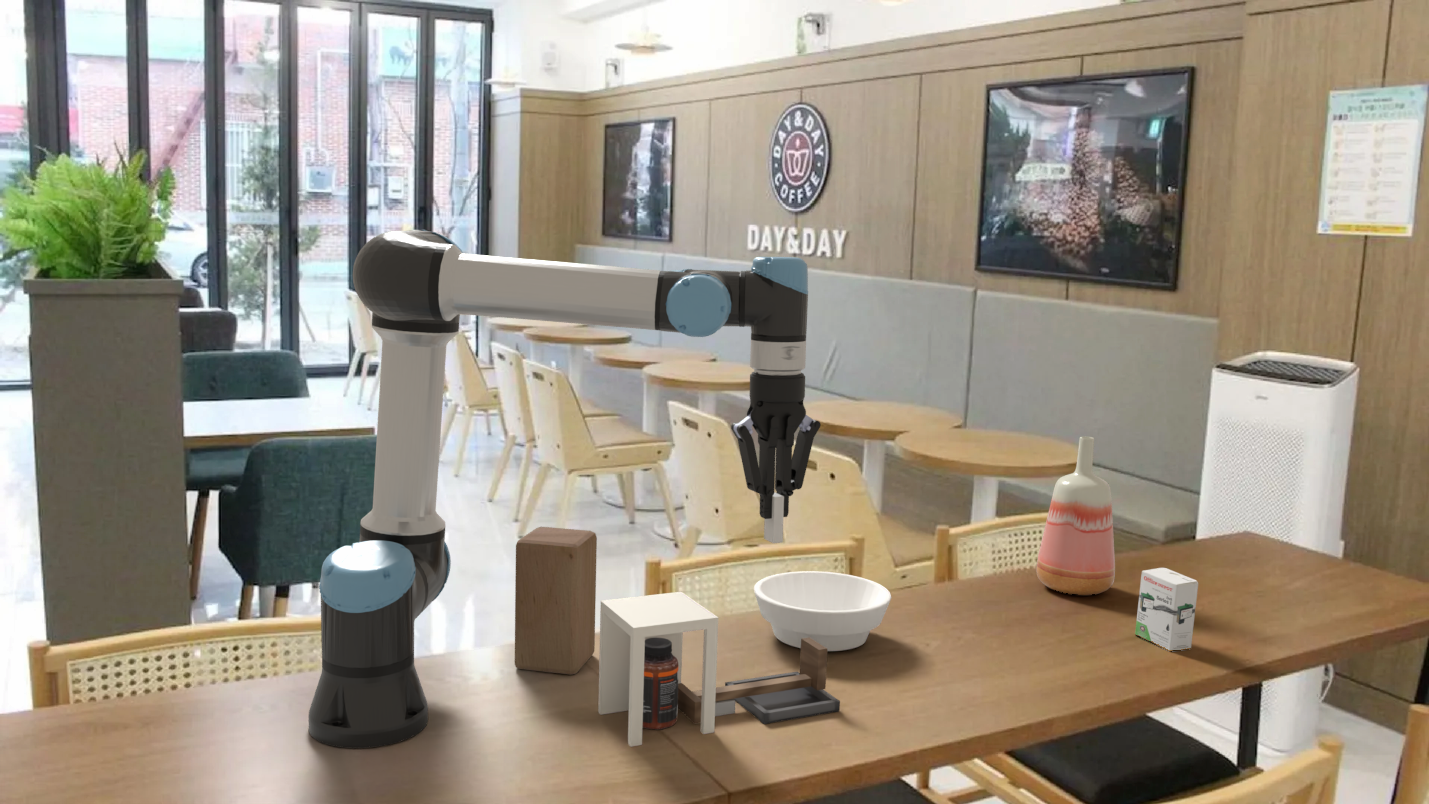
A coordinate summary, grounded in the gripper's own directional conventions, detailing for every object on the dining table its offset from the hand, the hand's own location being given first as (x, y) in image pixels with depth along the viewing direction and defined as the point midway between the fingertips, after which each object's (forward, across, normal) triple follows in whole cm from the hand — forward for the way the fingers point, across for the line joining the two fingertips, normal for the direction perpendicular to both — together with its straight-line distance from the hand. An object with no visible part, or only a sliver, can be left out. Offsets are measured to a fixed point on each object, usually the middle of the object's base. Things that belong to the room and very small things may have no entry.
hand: (773, 540), depth 166 cm
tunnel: (+24, -15, 0) cm, 28 cm away
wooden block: (+24, -23, +26) cm, 42 cm away
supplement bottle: (+24, -17, 0) cm, 30 cm away
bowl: (+24, +21, +22) cm, 39 cm away
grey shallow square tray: (+24, +2, 0) cm, 24 cm away
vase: (+25, +82, +29) cm, 91 cm away
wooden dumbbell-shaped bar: (+23, -3, 0) cm, 24 cm away
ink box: (+25, +75, 0) cm, 79 cm away
